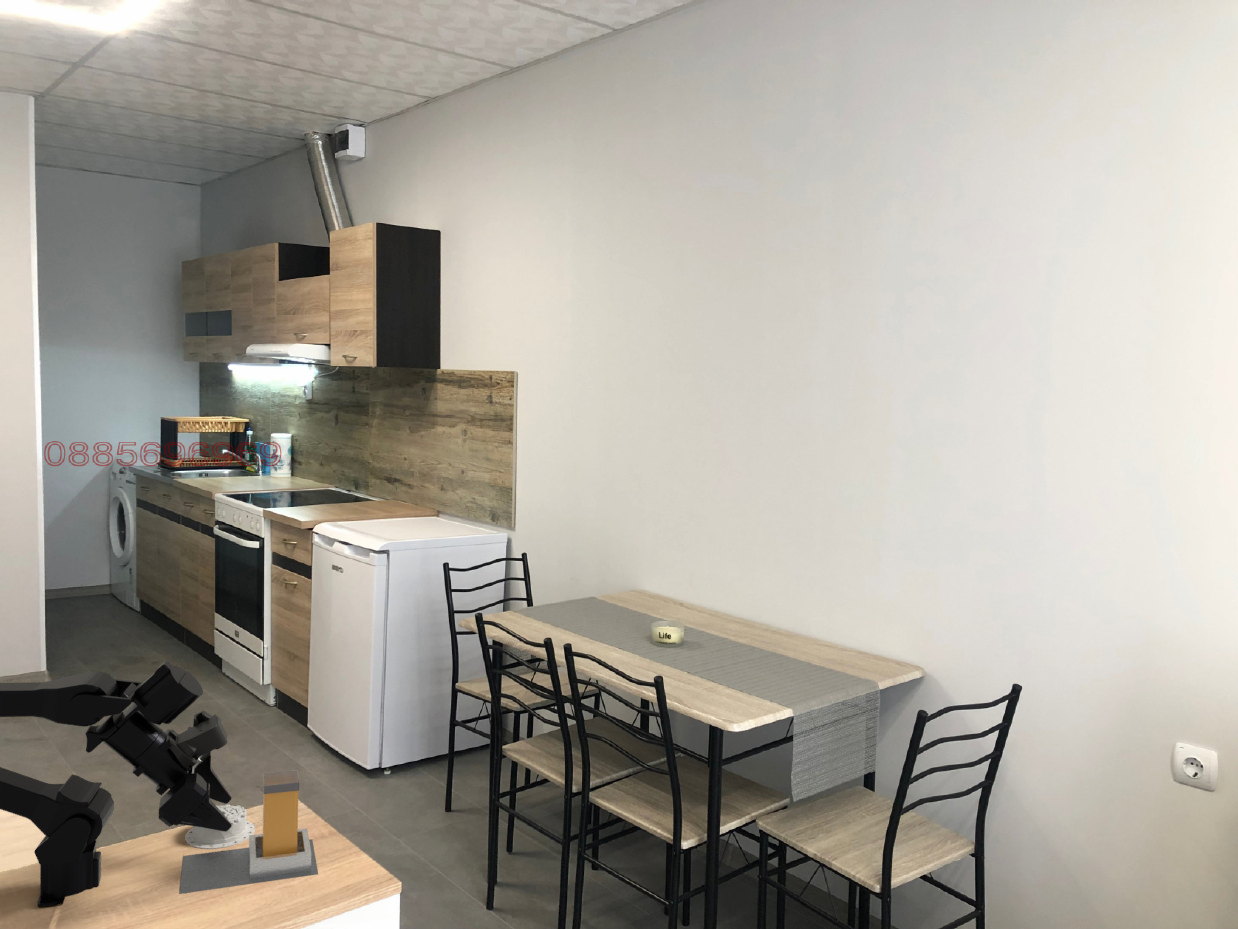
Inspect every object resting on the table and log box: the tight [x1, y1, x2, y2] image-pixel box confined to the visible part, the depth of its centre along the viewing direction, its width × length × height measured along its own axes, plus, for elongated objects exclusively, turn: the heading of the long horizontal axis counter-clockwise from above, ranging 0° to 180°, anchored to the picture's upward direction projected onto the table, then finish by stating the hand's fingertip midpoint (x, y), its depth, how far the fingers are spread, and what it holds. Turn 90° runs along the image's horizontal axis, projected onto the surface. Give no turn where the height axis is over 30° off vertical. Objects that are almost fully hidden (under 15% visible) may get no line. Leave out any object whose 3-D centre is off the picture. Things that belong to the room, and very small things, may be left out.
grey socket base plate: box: [179, 827, 319, 895], centre depth 136 cm, size 18×11×4 cm, turn 112°
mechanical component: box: [184, 803, 256, 850], centre depth 145 cm, size 10×4×10 cm
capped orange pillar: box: [262, 769, 300, 857], centre depth 137 cm, size 5×5×12 cm
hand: (229, 814), depth 135 cm, fingers open, 9 cm apart
